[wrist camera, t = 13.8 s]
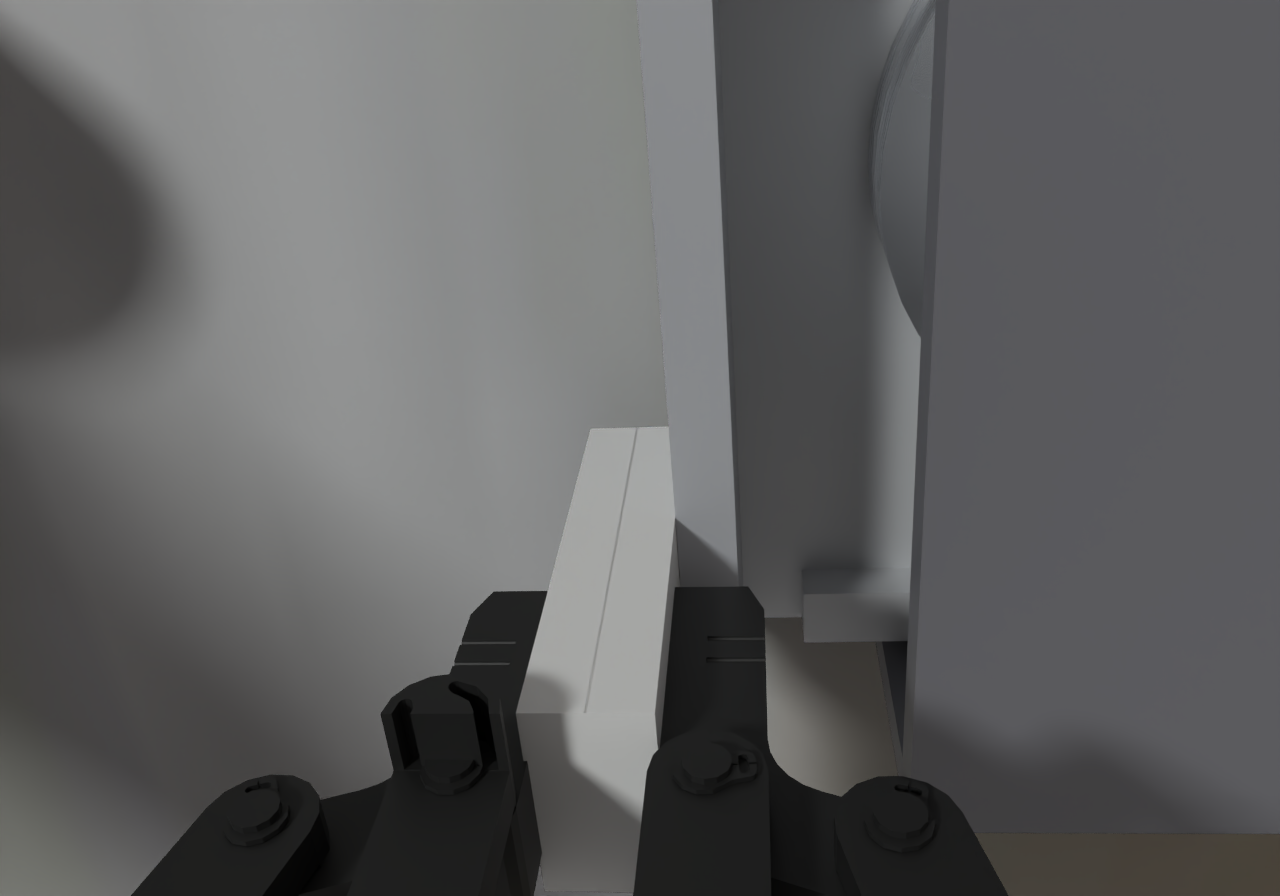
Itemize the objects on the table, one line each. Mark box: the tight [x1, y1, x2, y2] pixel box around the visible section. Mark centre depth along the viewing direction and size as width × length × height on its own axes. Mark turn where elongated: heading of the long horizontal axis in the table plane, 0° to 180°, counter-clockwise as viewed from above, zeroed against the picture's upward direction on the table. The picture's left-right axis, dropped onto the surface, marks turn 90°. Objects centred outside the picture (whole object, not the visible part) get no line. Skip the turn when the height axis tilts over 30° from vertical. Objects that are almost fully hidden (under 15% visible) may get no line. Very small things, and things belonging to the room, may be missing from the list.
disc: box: [868, 0, 936, 338], centre depth 15 cm, size 8×8×2 cm
